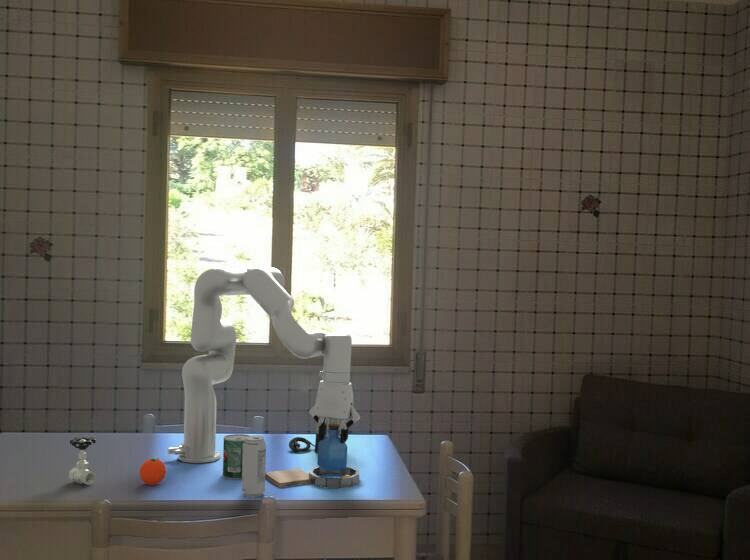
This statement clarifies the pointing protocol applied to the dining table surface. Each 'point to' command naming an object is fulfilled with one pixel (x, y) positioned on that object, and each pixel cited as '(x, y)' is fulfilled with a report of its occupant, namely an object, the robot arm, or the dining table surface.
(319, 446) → the perfume bottle
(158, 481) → the clementine
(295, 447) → the milk frother
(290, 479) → the pad
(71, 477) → the valve
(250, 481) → the energy drink can
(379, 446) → the dining table surface
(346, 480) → the collar
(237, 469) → the canned tomato
